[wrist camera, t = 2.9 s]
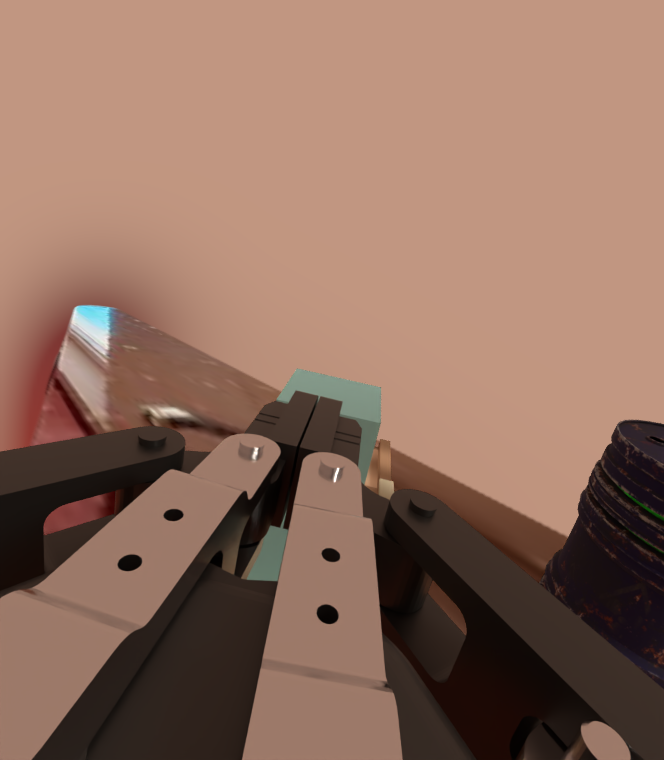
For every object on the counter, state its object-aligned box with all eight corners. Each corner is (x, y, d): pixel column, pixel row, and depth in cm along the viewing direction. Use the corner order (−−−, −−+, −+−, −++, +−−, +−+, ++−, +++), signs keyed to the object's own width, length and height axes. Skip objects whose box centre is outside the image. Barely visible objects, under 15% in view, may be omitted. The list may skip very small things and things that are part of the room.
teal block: (330, 613, 23) (380, 423, 19) (244, 591, 24) (276, 399, 20) (339, 550, 28) (380, 387, 24) (267, 533, 28) (297, 368, 24)
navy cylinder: (697, 675, 27) (836, 480, 22) (711, 825, 19) (930, 577, 14) (538, 580, 32) (620, 405, 27) (499, 668, 25) (604, 447, 20)
